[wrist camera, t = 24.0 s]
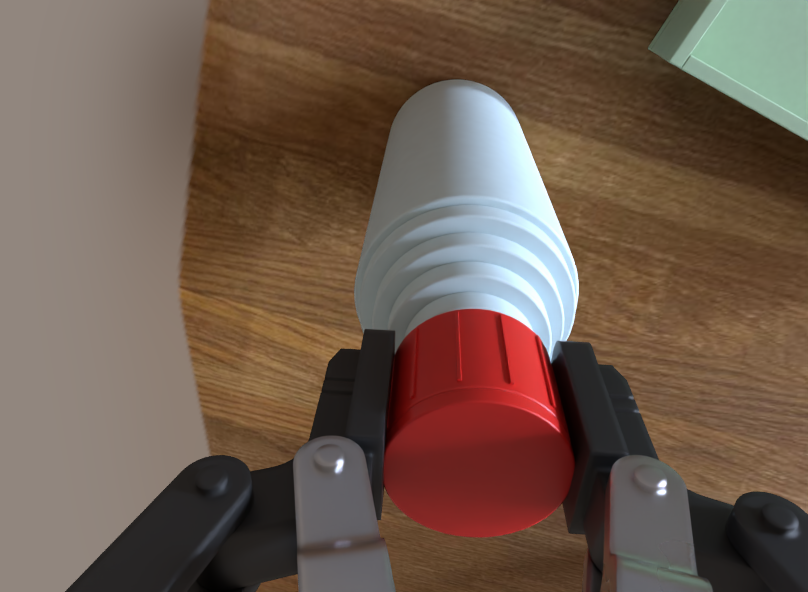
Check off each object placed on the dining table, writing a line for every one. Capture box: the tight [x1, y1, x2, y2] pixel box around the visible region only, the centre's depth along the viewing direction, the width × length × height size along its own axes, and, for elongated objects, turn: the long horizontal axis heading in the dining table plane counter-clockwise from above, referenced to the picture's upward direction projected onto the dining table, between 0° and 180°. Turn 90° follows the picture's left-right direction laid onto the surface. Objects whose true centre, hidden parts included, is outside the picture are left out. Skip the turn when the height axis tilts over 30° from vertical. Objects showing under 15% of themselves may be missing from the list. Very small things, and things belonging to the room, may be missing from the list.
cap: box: [383, 309, 575, 537], centre depth 13 cm, size 4×4×3 cm
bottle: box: [354, 79, 579, 361], centre depth 21 cm, size 6×6×20 cm
